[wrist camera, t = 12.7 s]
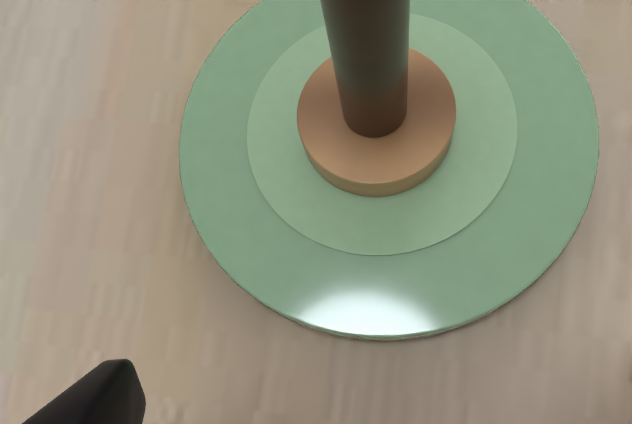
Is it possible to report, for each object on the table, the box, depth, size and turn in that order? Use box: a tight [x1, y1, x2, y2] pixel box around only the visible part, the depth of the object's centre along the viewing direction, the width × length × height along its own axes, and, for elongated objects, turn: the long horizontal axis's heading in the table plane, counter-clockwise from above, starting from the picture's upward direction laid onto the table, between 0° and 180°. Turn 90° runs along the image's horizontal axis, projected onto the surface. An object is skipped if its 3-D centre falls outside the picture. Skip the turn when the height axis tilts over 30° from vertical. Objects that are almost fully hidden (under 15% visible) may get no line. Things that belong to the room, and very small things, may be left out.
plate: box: [179, 0, 599, 341], centre depth 19 cm, size 14×14×1 cm
